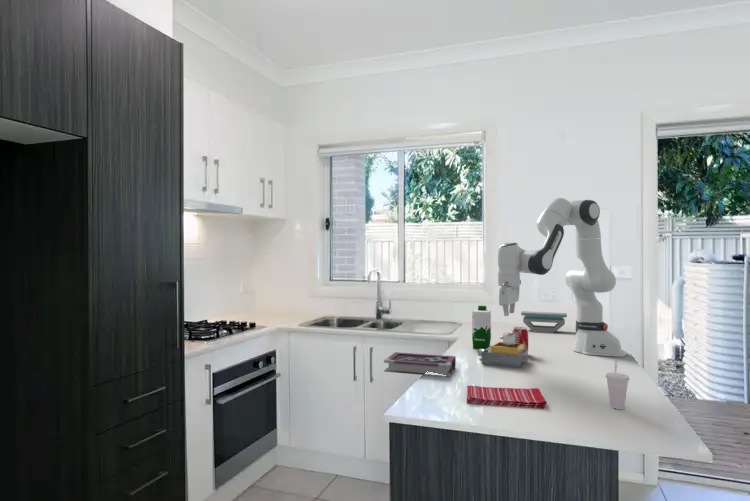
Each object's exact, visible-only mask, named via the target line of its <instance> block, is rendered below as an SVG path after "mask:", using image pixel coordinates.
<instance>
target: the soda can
mask: <svg viewBox="0 0 750 501" xmlns="http://www.w3.org/2000/svg"><path fill="white" fill-rule="evenodd" d="M511 333H514V334H515V343H517V344H524V349H526V350H528V351H529V331H528V329H527V327H522V326H515V327H513V330H512V332H511Z"/></svg>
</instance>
